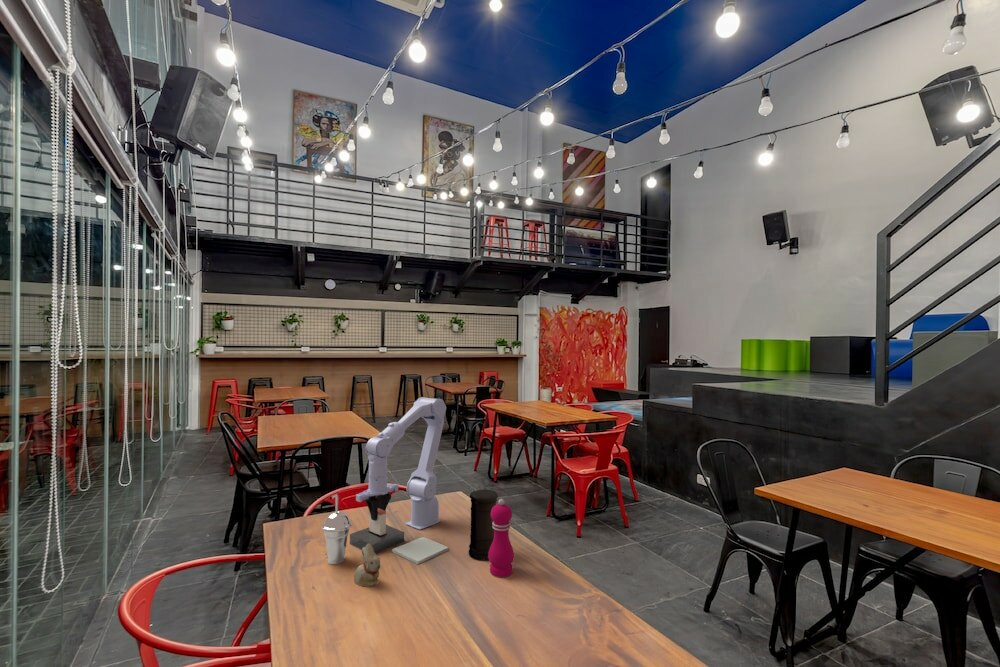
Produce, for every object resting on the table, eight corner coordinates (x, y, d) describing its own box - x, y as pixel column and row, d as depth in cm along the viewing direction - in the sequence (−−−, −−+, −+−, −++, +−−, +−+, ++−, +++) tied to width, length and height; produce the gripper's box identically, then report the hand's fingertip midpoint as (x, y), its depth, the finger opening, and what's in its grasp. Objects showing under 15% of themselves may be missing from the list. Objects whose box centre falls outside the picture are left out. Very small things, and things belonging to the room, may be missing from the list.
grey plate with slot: (381, 531, 152) (381, 522, 152) (404, 541, 144) (404, 532, 144) (349, 543, 142) (349, 534, 142) (372, 554, 135) (372, 544, 135)
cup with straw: (357, 557, 133) (358, 488, 134) (334, 570, 125) (335, 498, 126) (336, 551, 137) (337, 485, 137) (312, 564, 129) (313, 493, 129)
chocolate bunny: (360, 591, 115) (360, 551, 115) (351, 578, 121) (352, 540, 121) (381, 585, 118) (382, 546, 118) (372, 572, 124) (372, 536, 124)
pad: (422, 539, 146) (422, 536, 146) (448, 549, 138) (448, 547, 138) (392, 552, 137) (392, 549, 137) (417, 564, 129) (418, 561, 129)
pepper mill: (511, 579, 121) (511, 504, 121) (485, 576, 122) (485, 502, 123) (516, 566, 128) (516, 495, 128) (491, 564, 129) (491, 493, 130)
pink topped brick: (374, 528, 146) (374, 506, 146) (385, 533, 142) (385, 511, 142) (369, 530, 144) (369, 508, 145) (380, 535, 141) (380, 512, 141)
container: (499, 547, 140) (500, 489, 140) (496, 561, 131) (497, 499, 131) (471, 546, 141) (471, 488, 141) (466, 560, 132) (466, 497, 132)
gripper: (365, 483, 136) (365, 528, 135) (404, 472, 147) (403, 515, 146) (352, 478, 140) (351, 522, 140) (390, 469, 151) (390, 510, 151)
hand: (377, 518), depth 143 cm, fingers closed on pink topped brick, 2 cm apart
